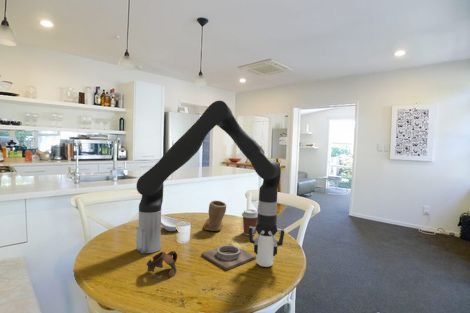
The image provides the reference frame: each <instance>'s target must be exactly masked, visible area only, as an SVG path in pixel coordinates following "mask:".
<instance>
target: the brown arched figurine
mask: <svg viewBox="0 0 470 313" xmlns="http://www.w3.org/2000/svg"><path fill="white" fill-rule="evenodd" d="M177 260H178V252H176V251H174V250H171V251H169V252H168V253H166V251H161V252H158V253H157V254H155V255H154V256H152V259H149V260H148V261H147V262H146V266H147V272H152V273H154V272H155V269H156V268H160V269H161V268H164V265H163V262H165V264H167V265H168V266H169V267H171V269H170V270H169V271H168V275H169V277H170V279H171V278H173V277H174V276H175V274H176V273H177V268H176V262H177Z"/></svg>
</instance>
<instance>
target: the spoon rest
mask: <svg viewBox="0 0 470 313" xmlns="http://www.w3.org/2000/svg"><path fill="white" fill-rule="evenodd" d="M178 222H184V221H182V220H180V219H176V218H173V217H169V216H167V215H164V214H161V227H162V228H163V229H164V230H165V231H168V232H177V231H176V223H178Z"/></svg>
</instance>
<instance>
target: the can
mask: <svg viewBox="0 0 470 313" xmlns="http://www.w3.org/2000/svg"><path fill="white" fill-rule="evenodd" d="M257 235H258V234H257ZM258 236H259V235H258ZM257 245H258V250H257V254H256V264H257V265H258V266H259V267H263V268H269V267H272V266H273V265H274V256H273V252H274V242H273V238H272V236H268V235H260V237H259V240H258V244H257Z"/></svg>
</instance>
